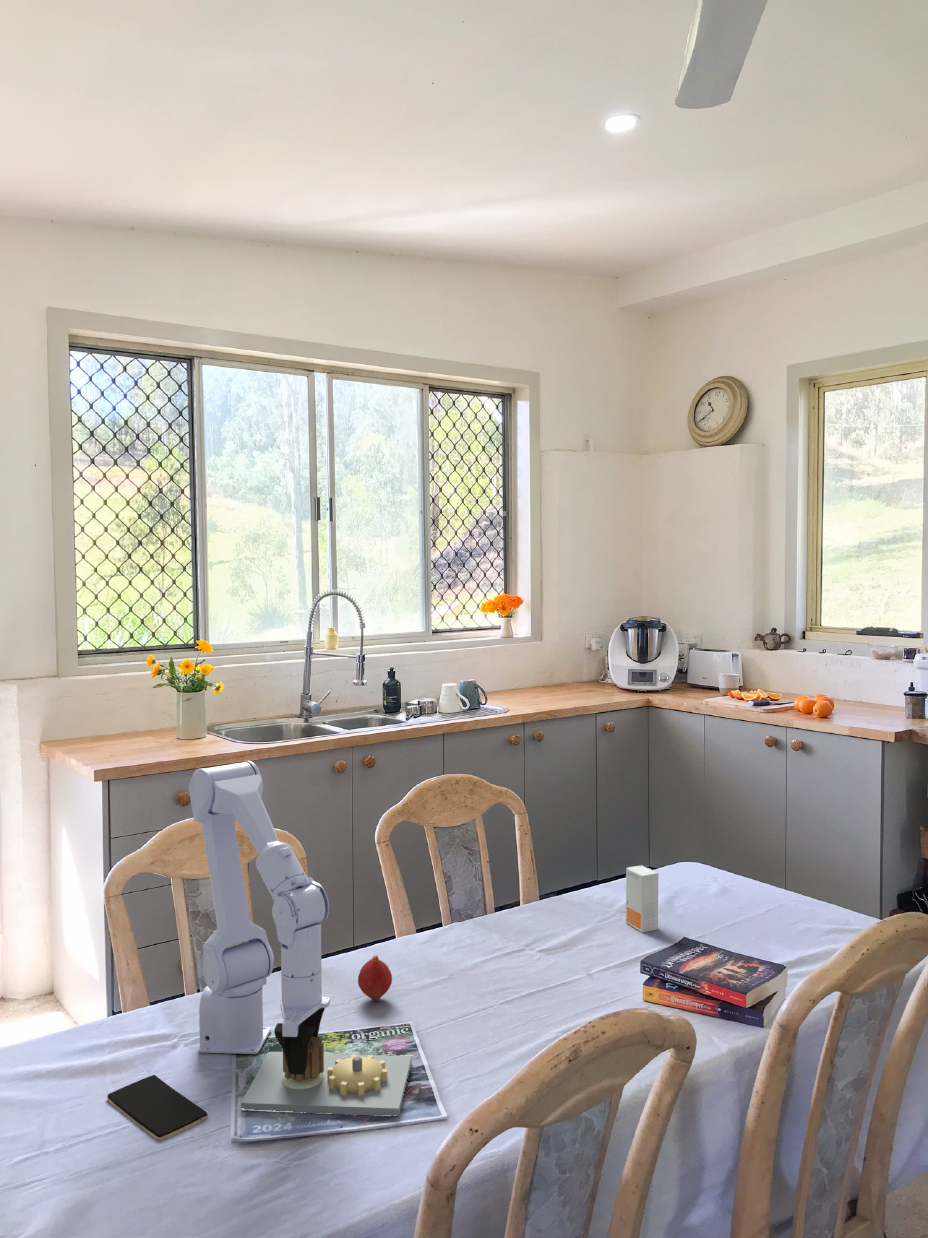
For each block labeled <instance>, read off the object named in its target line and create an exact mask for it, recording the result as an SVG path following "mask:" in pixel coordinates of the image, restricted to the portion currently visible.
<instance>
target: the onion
mask: <svg viewBox="0 0 928 1238" xmlns="http://www.w3.org/2000/svg"><path fill="white" fill-rule="evenodd" d="M392 983H393V976H392V972H391V970H390V968H389V966H388V964H387V963H385V962H384V961H382V960H381V959H379V956H378V954H376V955H373V957H371V958H370V959H369V960H368V961H366V963H364V964H363V966H362V967H361V969H360V970H359V974H358V977H357V984H358V987H359V989H360V990H361V992H362V993H363V994H364V995H365V996H366V997H367V998H369V999H371V1000H373V1001H375V1002H377V1001H378V1000H380V999H381V998H382V997H384V995H385V994H386V993H388V991H389V989H390V987H391V985H392Z"/></svg>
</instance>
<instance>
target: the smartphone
mask: <svg viewBox="0 0 928 1238" xmlns="http://www.w3.org/2000/svg"><path fill="white" fill-rule="evenodd" d="M107 1101H108V1102H109V1103H110V1104H112V1105H113V1106H114V1107H115V1108H117V1109H118V1110H119V1111H121V1113H123V1114H124V1115H126V1117H128V1118H129V1119H130V1120H132V1121H133V1122H134V1123H135V1124H137V1125H138V1126H139V1127H140V1128H142V1129H143V1130H144V1131H146V1132H147V1134H149V1135H150V1136H152V1138H155V1139H156V1140H158V1141H162V1140H166V1139H168V1138H171V1137H173V1136H175V1135H177V1134H179V1133H181V1132H184V1131H185V1130H188V1129H190V1128H192V1127H194V1126H196V1125H197V1124H199V1123H201V1122H203V1121H205V1120H206V1119H207V1118H208V1116H209V1115H208V1114H209V1113H208V1112H207V1111H206V1110H205V1109H203V1108H202V1107H200V1106H199V1105H197V1104H196V1103H194V1102H193V1101H191V1100H189V1098H187V1097H185V1096H184V1095H183V1094H181V1093H180V1092H178V1091H177V1090H176V1089H174V1088H173V1087H172V1086H170V1085H168V1084H167V1083H166V1082H164V1081H163V1080H162V1079H161V1078H159V1077H158V1076H157V1075H155V1074H153V1075H150V1076H147V1077H144V1078H141V1079H140V1080H136V1081H135V1082H131V1083H130V1084H128V1085H124V1086H123V1087H121V1088H118V1089H117V1090H114V1091H112V1092H110V1093H108V1094H107Z"/></svg>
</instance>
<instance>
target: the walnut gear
mask: <svg viewBox="0 0 928 1238" xmlns="http://www.w3.org/2000/svg"><path fill="white" fill-rule="evenodd" d="M322 1039H323V1038H321V1037H320V1036H318V1037H313V1036H312V1038H311V1041H310V1045H309V1051H308V1059H307V1066H306V1070H305V1073H304V1074H303V1075H302V1074H290V1072H289V1069H288V1066H287V1062H286V1058H285V1054H284V1051H283V1050H282V1052H283V1072H285V1078H287V1079H289V1078H291V1079H293V1080H295V1079H296V1082H302V1080H304V1079H305V1080H308V1079H311V1080H313V1079H316V1078H317V1075H319V1073H323V1071H324V1054H325V1052H324V1046H325V1045H324V1043H323V1041H322Z"/></svg>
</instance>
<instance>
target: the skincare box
mask: <svg viewBox="0 0 928 1238" xmlns="http://www.w3.org/2000/svg"><path fill="white" fill-rule="evenodd" d="M625 870H626V871H625V924H627V925H629V926H631V927H632V928H635V929H636V930H637V931H639V932H641V933H646V932H652V931H653V932H654V931H657V930H659V873H658V872H656V871H654V870H652V869H651V868H649V867H646V866H644V865H642V864H641V865H635V866H628V867H626V869H625Z"/></svg>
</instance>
